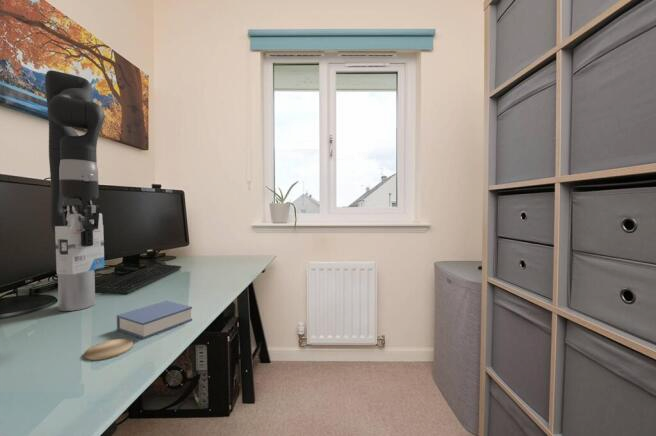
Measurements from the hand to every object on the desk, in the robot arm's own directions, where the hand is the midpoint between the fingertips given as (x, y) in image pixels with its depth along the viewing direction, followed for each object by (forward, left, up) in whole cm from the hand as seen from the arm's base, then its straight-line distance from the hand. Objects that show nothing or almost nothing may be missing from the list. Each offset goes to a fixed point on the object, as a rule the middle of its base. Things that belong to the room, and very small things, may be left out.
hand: (81, 245), depth 75 cm
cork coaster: (+15, -1, -23) cm, 28 cm away
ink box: (0, 0, -7) cm, 7 cm away
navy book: (+10, +13, -23) cm, 28 cm away
